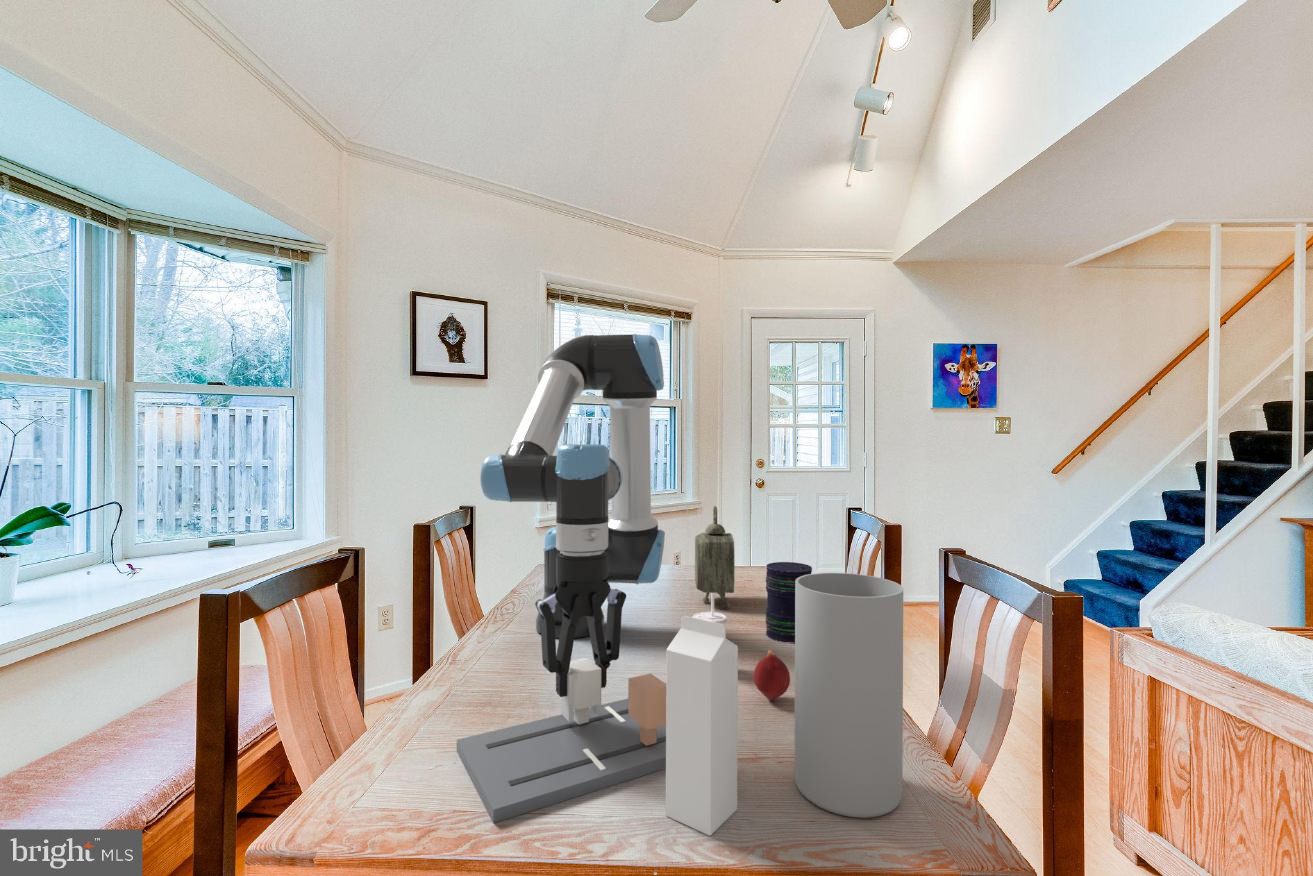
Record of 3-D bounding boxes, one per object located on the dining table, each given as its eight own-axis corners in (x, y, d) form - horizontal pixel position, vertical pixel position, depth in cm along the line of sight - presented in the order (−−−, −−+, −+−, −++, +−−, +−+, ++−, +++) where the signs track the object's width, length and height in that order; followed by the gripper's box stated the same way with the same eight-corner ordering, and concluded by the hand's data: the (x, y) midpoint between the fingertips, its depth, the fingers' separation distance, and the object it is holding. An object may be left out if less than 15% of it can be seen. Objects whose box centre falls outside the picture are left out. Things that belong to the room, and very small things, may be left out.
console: (456, 750, 83) (456, 738, 83) (637, 705, 97) (637, 695, 97) (493, 823, 67) (493, 808, 67) (702, 756, 82) (702, 744, 82)
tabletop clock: (734, 611, 150) (734, 509, 150) (697, 611, 150) (697, 509, 150) (728, 596, 165) (728, 503, 165) (694, 595, 165) (694, 503, 165)
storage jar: (760, 639, 129) (761, 569, 129) (770, 626, 139) (770, 560, 139) (808, 645, 126) (809, 573, 126) (815, 631, 135) (815, 564, 135)
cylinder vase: (846, 834, 66) (847, 602, 66) (773, 776, 77) (774, 578, 77) (925, 802, 72) (926, 589, 72) (847, 753, 83) (848, 569, 83)
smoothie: (725, 676, 109) (725, 598, 109) (689, 673, 110) (690, 596, 110) (728, 663, 115) (728, 589, 115) (694, 661, 117) (694, 587, 117)
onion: (791, 695, 101) (791, 647, 101) (787, 710, 96) (787, 659, 96) (756, 690, 103) (756, 643, 103) (750, 704, 98) (750, 654, 98)
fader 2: (628, 737, 83) (628, 678, 83) (650, 730, 85) (650, 673, 85) (646, 753, 79) (646, 691, 79) (669, 746, 81) (669, 686, 81)
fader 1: (563, 716, 89) (563, 662, 89) (585, 711, 91) (585, 657, 91) (576, 731, 85) (577, 673, 85) (599, 725, 87) (600, 669, 87)
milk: (694, 792, 74) (695, 609, 74) (738, 810, 70) (739, 618, 70) (664, 817, 69) (665, 620, 69) (710, 838, 65) (711, 630, 65)
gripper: (535, 561, 81) (534, 739, 81) (645, 550, 89) (644, 711, 89) (517, 552, 87) (517, 716, 87) (621, 542, 95) (621, 692, 95)
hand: (581, 713), depth 88 cm, fingers closed on fader 1, 3 cm apart
